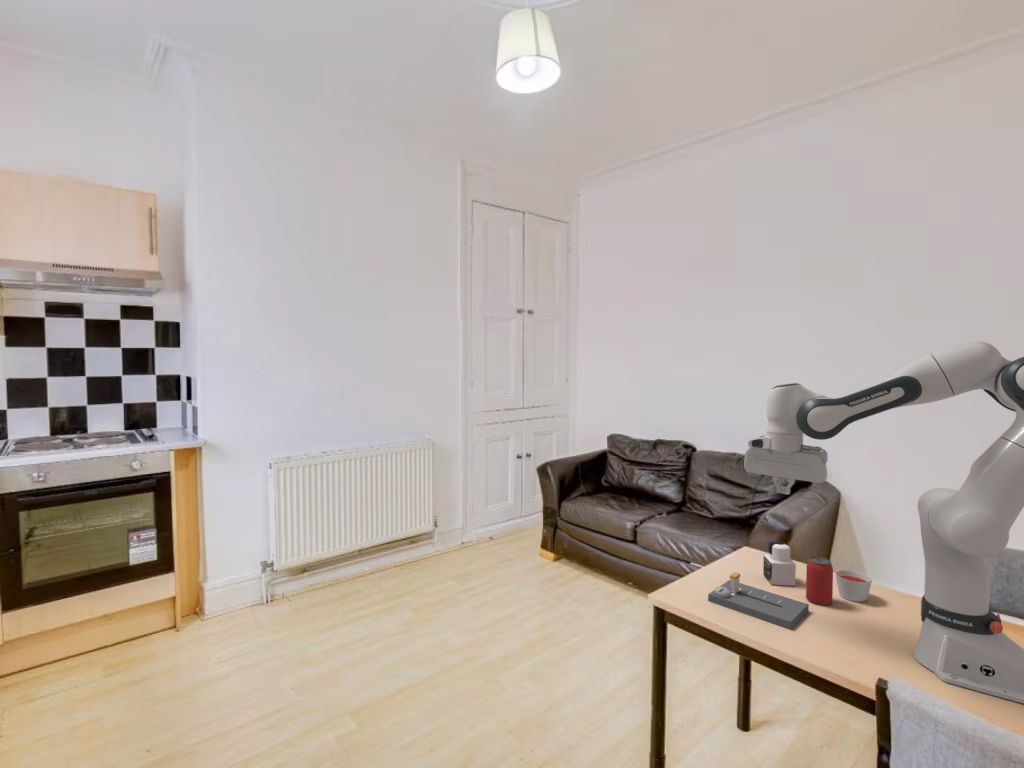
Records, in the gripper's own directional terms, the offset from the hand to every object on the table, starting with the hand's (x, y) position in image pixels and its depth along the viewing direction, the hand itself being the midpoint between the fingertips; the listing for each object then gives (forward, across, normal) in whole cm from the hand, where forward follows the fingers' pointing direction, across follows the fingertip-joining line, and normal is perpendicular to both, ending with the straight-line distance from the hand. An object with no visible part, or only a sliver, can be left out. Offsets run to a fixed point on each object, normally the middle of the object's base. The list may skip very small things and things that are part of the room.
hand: (783, 493), depth 140 cm
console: (+33, +6, +1) cm, 34 cm away
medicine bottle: (+33, +8, -21) cm, 40 cm away
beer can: (+33, -5, -15) cm, 37 cm away
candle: (+33, -11, -25) cm, 43 cm away
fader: (+31, +12, +1) cm, 33 cm away
